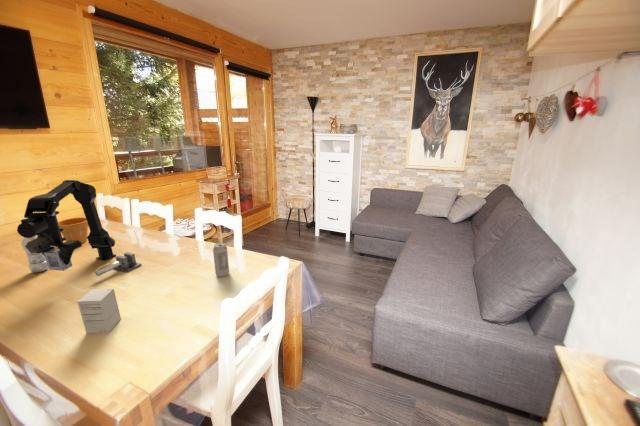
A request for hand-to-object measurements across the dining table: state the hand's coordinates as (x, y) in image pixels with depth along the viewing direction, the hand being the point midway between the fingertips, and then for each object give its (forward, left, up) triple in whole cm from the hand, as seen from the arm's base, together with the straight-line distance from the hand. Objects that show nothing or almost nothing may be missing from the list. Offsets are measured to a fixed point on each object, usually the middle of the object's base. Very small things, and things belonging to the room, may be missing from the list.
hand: (60, 263), depth 116 cm
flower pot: (-51, +34, -12) cm, 62 cm away
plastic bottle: (-29, +5, -12) cm, 32 cm away
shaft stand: (+5, +17, -12) cm, 22 cm away
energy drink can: (+53, +33, -12) cm, 64 cm away
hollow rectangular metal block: (0, 0, -2) cm, 2 cm away
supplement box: (+38, -11, -12) cm, 41 cm away
